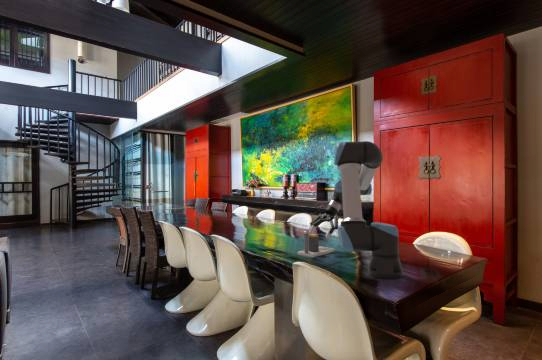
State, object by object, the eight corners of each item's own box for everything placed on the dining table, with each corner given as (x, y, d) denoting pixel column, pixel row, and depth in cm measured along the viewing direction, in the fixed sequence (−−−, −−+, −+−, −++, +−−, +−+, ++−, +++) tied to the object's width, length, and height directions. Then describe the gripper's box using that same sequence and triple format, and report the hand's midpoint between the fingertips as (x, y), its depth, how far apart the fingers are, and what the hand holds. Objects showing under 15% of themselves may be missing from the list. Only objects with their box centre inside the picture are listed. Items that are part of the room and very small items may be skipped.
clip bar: (310, 234, 168) (309, 231, 168) (305, 234, 167) (304, 231, 167) (296, 229, 184) (296, 227, 184) (292, 230, 183) (292, 227, 183)
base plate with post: (312, 259, 164) (311, 235, 164) (297, 255, 172) (297, 233, 172) (335, 253, 178) (334, 230, 178) (320, 250, 186) (320, 229, 186)
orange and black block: (314, 254, 171) (313, 235, 171) (308, 253, 174) (308, 234, 174) (318, 253, 173) (318, 234, 173) (313, 252, 176) (313, 233, 176)
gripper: (352, 214, 180) (337, 242, 170) (319, 212, 198) (305, 237, 188) (346, 206, 176) (331, 234, 166) (314, 204, 195) (299, 230, 185)
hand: (317, 236), depth 177 cm, fingers open, 13 cm apart
